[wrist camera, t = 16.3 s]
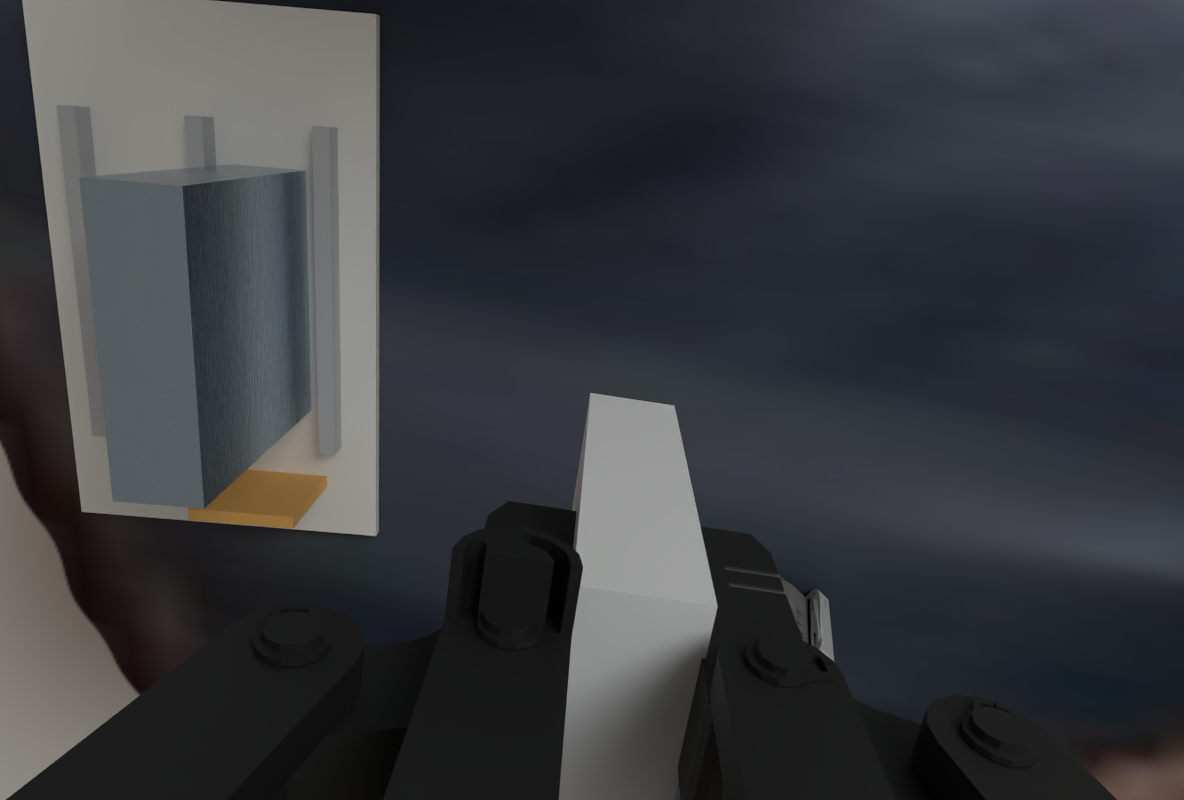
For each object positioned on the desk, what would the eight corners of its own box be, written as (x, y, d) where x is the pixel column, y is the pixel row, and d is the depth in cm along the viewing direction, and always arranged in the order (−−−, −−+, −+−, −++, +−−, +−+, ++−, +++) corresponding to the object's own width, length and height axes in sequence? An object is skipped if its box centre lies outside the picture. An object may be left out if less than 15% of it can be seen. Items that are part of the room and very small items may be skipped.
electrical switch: (714, 700, 49) (723, 814, 40) (647, 645, 49) (641, 748, 40) (828, 592, 47) (865, 688, 38) (759, 534, 46) (779, 617, 37)
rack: (29, -14, 38) (-66, -37, 33) (379, 15, 38) (342, -3, 33) (88, 507, 46) (19, 556, 41) (378, 531, 46) (348, 583, 41)
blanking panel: (232, 164, 40) (79, 177, 28) (305, 170, 40) (182, 186, 28) (244, 404, 44) (112, 501, 32) (311, 409, 44) (204, 508, 32)
